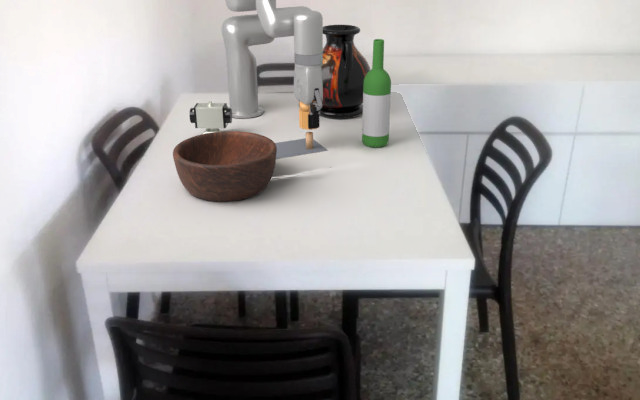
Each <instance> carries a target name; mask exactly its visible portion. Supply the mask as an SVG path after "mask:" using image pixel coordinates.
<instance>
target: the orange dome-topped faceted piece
mask: <svg viewBox="0 0 640 400" xmlns="http://www.w3.org/2000/svg"><path fill="white" fill-rule="evenodd" d="M312 103H315V100H314V101H312ZM313 107H315V105H312V109H313ZM308 114H309V108H308V105H306V104H304V103H302V102H301V101H300V108H299V109H298V116H299V117H298V120H299V122H298V124H299V128H301V129H302V130H307V131H308V130H309V131H310V130H317V129H318V128H313V129H309V128H308Z"/></svg>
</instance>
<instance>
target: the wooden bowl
mask: <svg viewBox="0 0 640 400" xmlns="http://www.w3.org/2000/svg"><path fill="white" fill-rule="evenodd" d="M275 143H276V142H274V141H273V140H272V139H271V138H269V137H267V136H265V135H263V134H259V133H254V132H249V131H240V130H239V131H238V130H237V131H236V130H234V131H233V130H231V131H230V130H229V131H227V130H225V131H221V132H213V133H206V134H203V133H202V134H199V135H194V136H192V137H189V138H186V139H184V140H181V141H180V142H179V143H178V144H177V145H175V146H174V148H173V150H172V158H173V162H174V166H175V169H176V172H177V173H176V174H177V175H178V176H177V177H178V178H179V180H180V183H181V184H182V186H183V187H184V189H186V191H187V192H188V193H189V194H190V195H192V196H194V197H195V198H197V199H198V198H199V199H201V200H204V201H210V202H234V201H240V200H245V199H248V198H252V197H255V196H257V195H259V194H260V193H262V192H263V191H264V190H266V188H267V187H268V185H269V184H270V182H271V180H272V179H273V176H274V172H275V168H276V162H277V161H276V160H277V159H276V153H277V147H276V144H275Z"/></svg>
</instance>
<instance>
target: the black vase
mask: <svg viewBox="0 0 640 400" xmlns="http://www.w3.org/2000/svg"><path fill="white" fill-rule="evenodd" d="M360 33H361V29H360V27H359V26H356V25H351V24H328V25H324V26H323V35H325V40H326V43H325V45H323V46H324V47H323V65H322V66H321V70H322V81H323V100H322V108H321V109H320V114H319V117H320V116H321V117H324V118H326V119H327V118H328V119H333V120H334V119H335V120H338V119H339V120H345V119H346V120H347V119H353V118H356V117H358V116H360V115H363V88H364V78H365V76H366V74H367V73H368V72H369V71H370V70H371V67H370V65H369V62H368V61H367V58H366V57H364V55H363V54H362V52H360V50H359V49H358V48H357V47H356V45H355V43H354V42H355V41H354V38H355V35H358V34H360Z"/></svg>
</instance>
